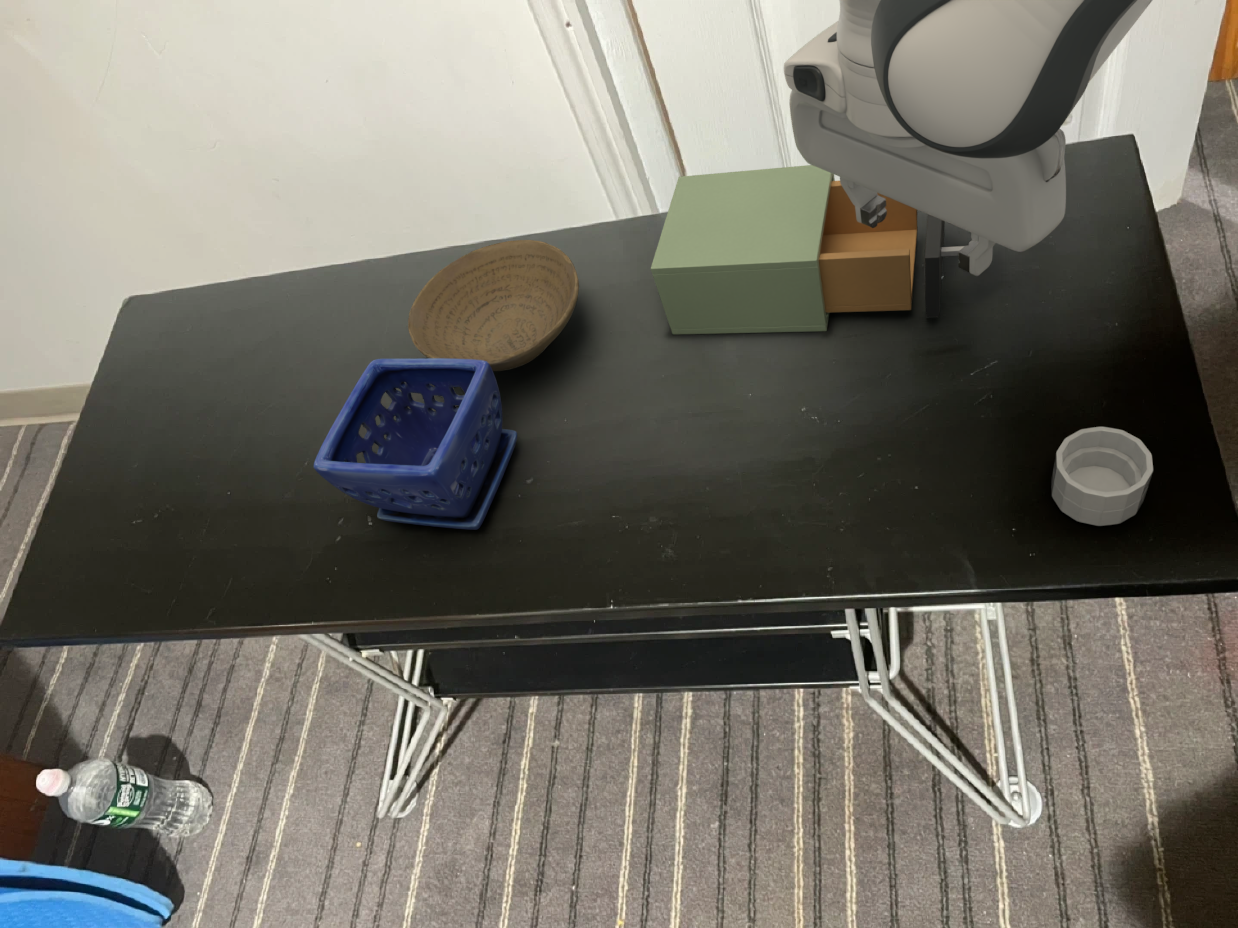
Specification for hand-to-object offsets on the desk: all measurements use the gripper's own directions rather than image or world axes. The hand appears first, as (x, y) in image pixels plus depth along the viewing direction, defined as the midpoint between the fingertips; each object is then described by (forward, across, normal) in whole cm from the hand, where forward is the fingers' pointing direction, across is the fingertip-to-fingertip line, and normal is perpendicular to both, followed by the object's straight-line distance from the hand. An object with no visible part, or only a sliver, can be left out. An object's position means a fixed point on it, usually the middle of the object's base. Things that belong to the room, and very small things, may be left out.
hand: (921, 243), depth 65 cm
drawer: (+16, +12, -9) cm, 22 cm away
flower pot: (+17, +27, +36) cm, 48 cm away
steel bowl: (+17, -16, 0) cm, 24 cm away
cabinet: (+17, +22, -1) cm, 28 cm away
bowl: (+16, +37, +21) cm, 46 cm away
